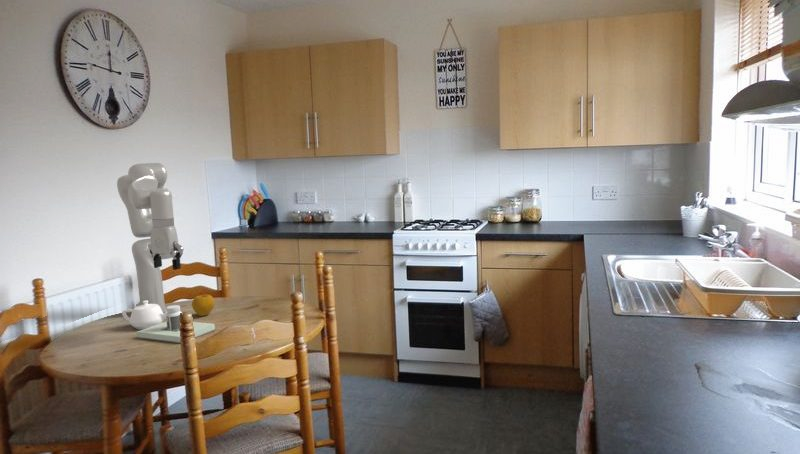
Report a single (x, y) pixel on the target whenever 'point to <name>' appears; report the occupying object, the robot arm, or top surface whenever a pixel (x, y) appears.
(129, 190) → the robot arm
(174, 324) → the pill bottle
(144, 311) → the teapot
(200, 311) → the apple
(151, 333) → the pocket board
